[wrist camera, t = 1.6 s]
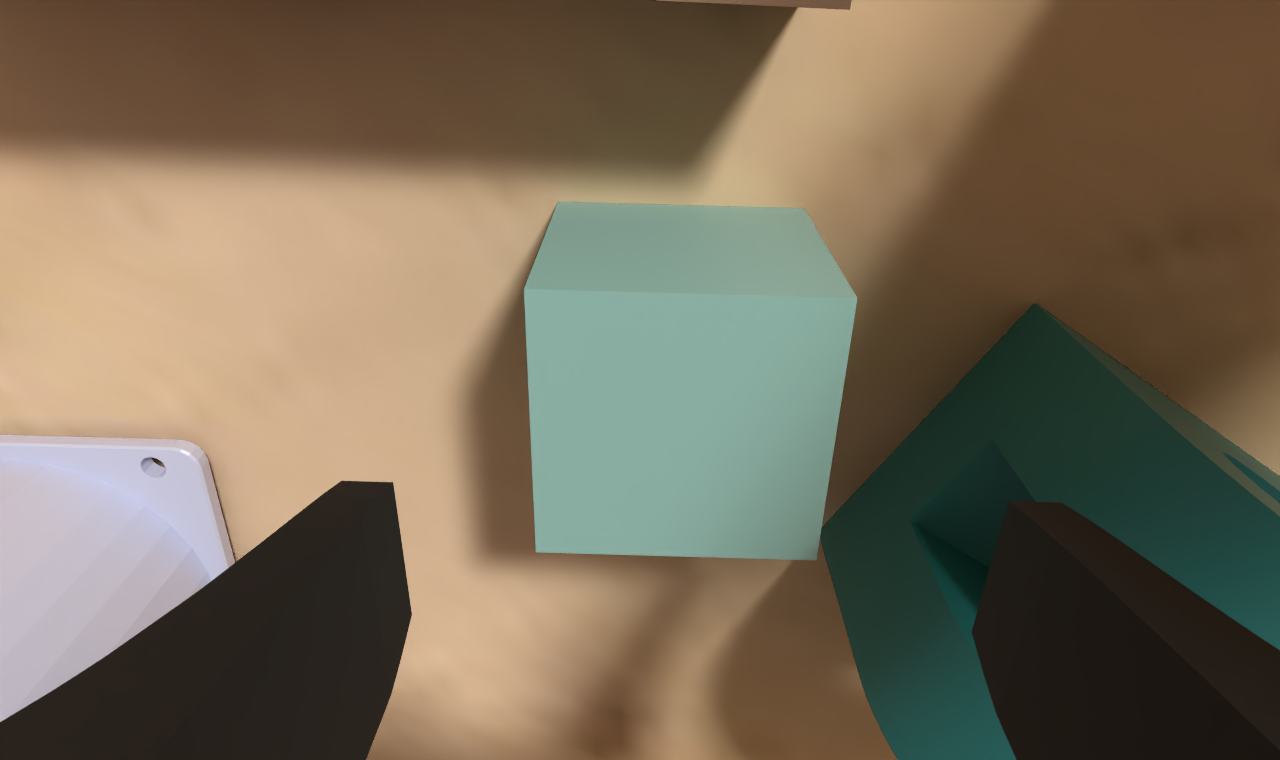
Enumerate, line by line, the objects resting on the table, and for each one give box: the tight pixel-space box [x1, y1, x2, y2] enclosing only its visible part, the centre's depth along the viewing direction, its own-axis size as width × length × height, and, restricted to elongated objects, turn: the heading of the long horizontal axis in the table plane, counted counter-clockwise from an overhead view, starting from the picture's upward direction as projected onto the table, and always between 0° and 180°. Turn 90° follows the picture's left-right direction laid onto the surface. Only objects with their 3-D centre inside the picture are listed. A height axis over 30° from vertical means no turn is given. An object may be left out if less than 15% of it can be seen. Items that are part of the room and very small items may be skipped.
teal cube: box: [524, 202, 857, 560], centre depth 14 cm, size 5×5×5 cm
